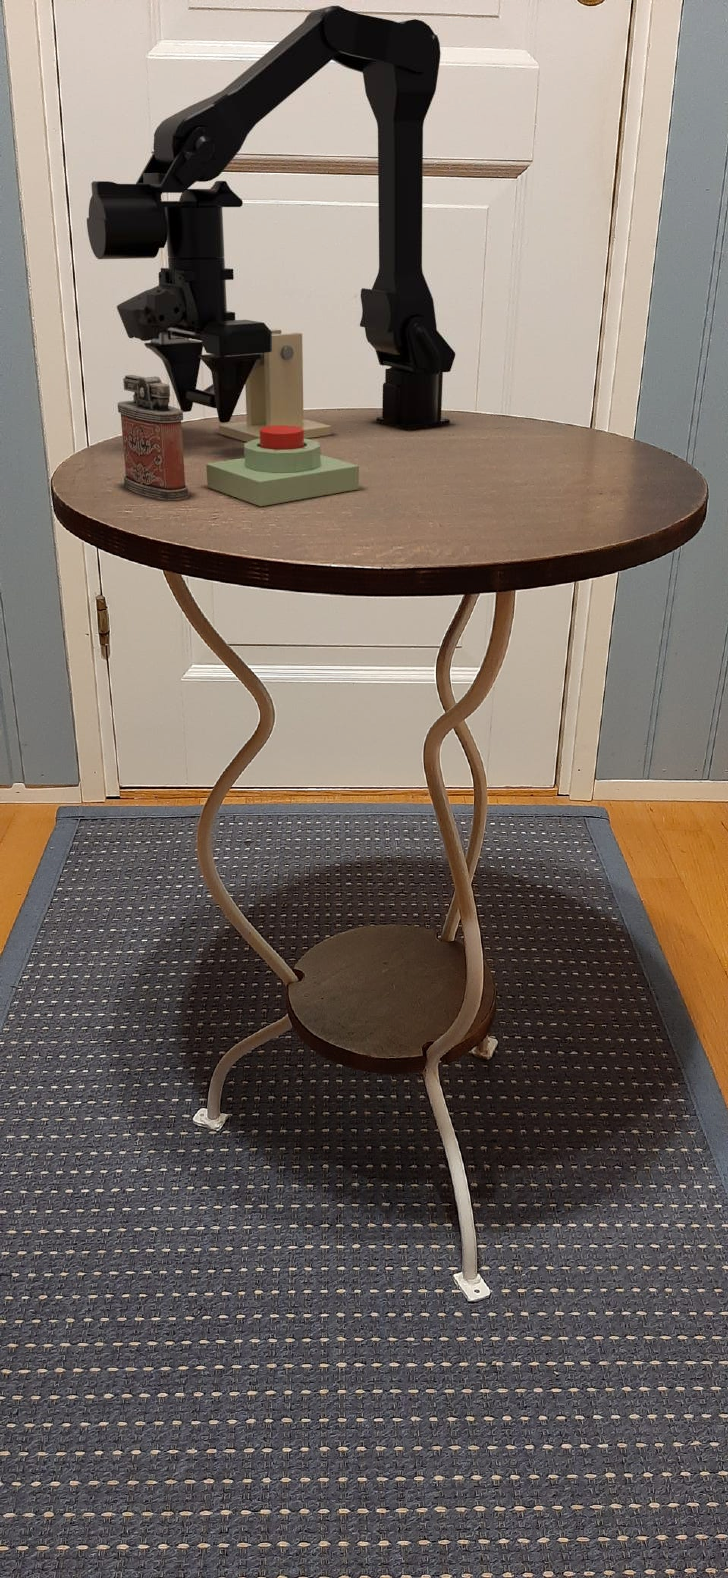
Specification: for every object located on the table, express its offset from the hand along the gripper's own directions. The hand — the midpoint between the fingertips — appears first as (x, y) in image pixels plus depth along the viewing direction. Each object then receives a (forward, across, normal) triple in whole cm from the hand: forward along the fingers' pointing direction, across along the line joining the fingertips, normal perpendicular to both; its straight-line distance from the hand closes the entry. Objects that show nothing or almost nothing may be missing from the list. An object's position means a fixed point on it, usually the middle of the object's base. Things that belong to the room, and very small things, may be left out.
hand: (204, 416), depth 124 cm
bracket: (+3, 0, +9) cm, 9 cm away
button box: (+3, +22, -5) cm, 23 cm away
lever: (-3, 0, +5) cm, 6 cm away
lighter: (+3, +16, -15) cm, 22 cm away
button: (-1, +22, -5) cm, 23 cm away
